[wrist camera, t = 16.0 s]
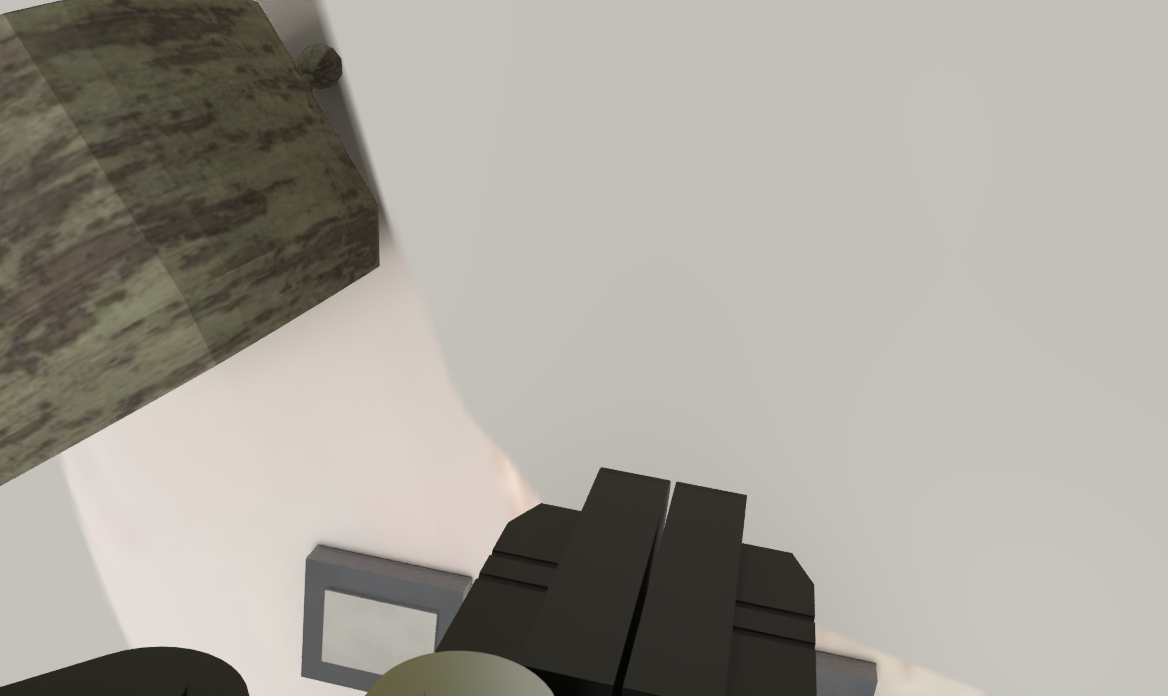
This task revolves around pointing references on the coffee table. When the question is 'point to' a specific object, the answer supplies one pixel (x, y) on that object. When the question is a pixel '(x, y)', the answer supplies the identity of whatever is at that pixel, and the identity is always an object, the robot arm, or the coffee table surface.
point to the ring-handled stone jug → (157, 205)
